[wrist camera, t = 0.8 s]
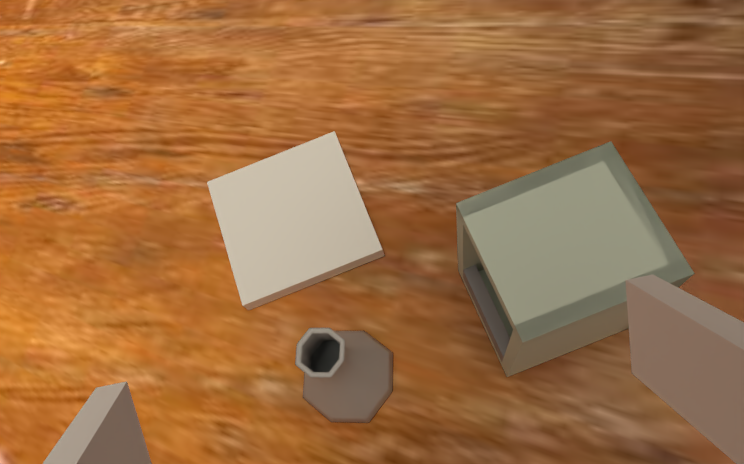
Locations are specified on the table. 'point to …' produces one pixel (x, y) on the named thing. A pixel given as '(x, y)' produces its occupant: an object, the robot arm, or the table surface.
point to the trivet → (293, 221)
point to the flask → (344, 373)
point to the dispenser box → (561, 256)
